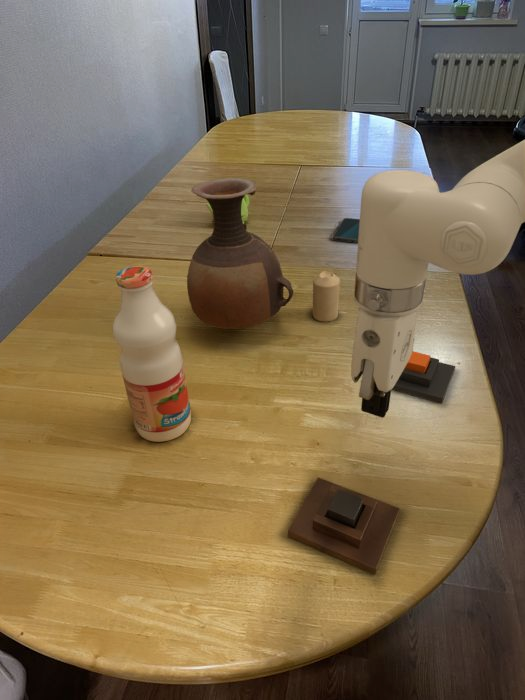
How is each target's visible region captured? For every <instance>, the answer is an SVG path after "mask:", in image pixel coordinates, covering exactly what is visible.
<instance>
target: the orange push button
mask: <svg viewBox="0 0 525 700" xmlns="http://www.w3.org/2000/svg"><path fill="white" fill-rule="evenodd" d="M455 370H456V366H455V365H453V364H448V363H445V362H441V361H440V359H439V358H435V357H432V356H430V361H429V365H428V367H427V369H426V371H425V373H424V374H423V373H419V372H415V371H412V370H408V369H404V370H403V372H402V373H401V375H400V377H399V379H398V380H397V382H396V384H395V385H394V387H393V388H392V389H391V390H394V391H396V392H400V393H404V394H407V395H410V396H414V397H417V398H421V399H425V400H429V401H432V402H435V403H439V404H443V402H444V399H445V396H446V394H447V391H448V389H449V386H450V384H451V381H452V378H453V376H454V374H455Z"/></svg>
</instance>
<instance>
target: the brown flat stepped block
mask: <svg viewBox="0 0 525 700" xmlns="http://www.w3.org/2000/svg"><path fill="white" fill-rule="evenodd" d="M338 489H339V490H341V491H344V492H346V493H349V494H352V495H354V496H357V497H360V498H362V499H364V502H363V508H362V510H361V513H360V515H359V517H358V519H357V521H356V523H355V526H354V528H352V527H349V526H347V525H345V524H342V523H340V522H337V521H335V520H332V519H330V518H328V517H327V514H328V508H329V506H330V504H331V502H332V500H333V498H334V496H335V494H336V492H337V490H338ZM400 510H401V508H400V507H397V506H396V505H392V504H389V503H387V502H384V501H383V500H382V501H381V500H379V499H377V498H374V497H371V496H368V495H366V494H363V493H361V492H358V491H356V490H353V489H350V488H347V487H345V486H342V485H340V484H338V483H334V482H332V481H329V480H327V479H324V478H321V477H317V479H316V480H315V482H314V483H313V485H312V487H311V489H310V490H309V492H308V493H307V495H306V497H305V499H304V501H303V502H302V504H301V506H300V508H299V510H298V512H297V513H296V515H295V516H294V519H293V520H292V522H291V524H290V526H289V527H288V529H287V537H289V538H291V539H294V540H296V541H298V542H301V543H303V544H305V545H307V546H309V547H311V548H314V549H316V550H318V551H321V552H323V553H325V554H327V555H329V556H332V557H335V558H336V559H339V560H341V561H343V562H346V563H348V564H350V565H352V566H354V567H357V568H360V569H361V570H364V571H366V572H368V573H370V574H373V575H376V574H377V571H378V569H379V567H380V564H381V561H382V559H383V556H384V554H385V551H386V548H387V546H388V543H389V542H390V541H389V540H390V538H391V535H392V533H393V531H394V528H395V525H396V523H397V520H398V518H399V514H400Z"/></svg>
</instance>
